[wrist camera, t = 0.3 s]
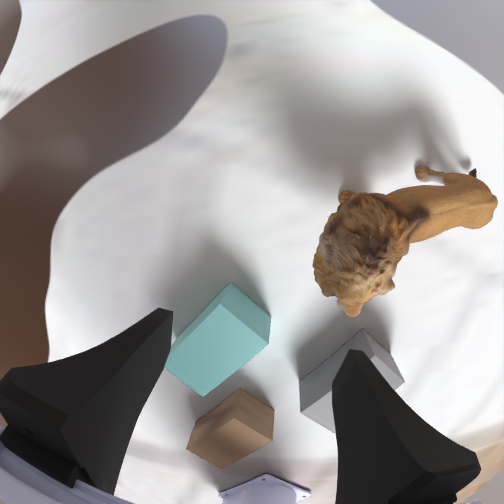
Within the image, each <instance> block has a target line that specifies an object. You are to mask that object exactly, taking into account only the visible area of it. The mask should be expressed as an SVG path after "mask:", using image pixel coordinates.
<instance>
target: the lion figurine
mask: <svg viewBox="0 0 504 504" xmlns="http://www.w3.org/2000/svg"><path fill="white" fill-rule="evenodd" d="M476 172H477V171H476V168H475V169H473V170H472V171H470V172H469V175H466V174H459V173H444V172H438V171H434V170H432V169H430V168H427V167H425V166H419V167H418V168H417V169H416V176H417V179H418V180H419V181H421V182H430V181H435V182H440V183H442V184H444V185H445V186H433V185H421V186H414V187H407V188H402V189H399V190H396V191H393V192H391V193H389V194H387V195H384V194H380V193H369V194H368V193H357V194H356V193H354V192H351V191H344V192H342V194H341V195H340V197H339V203H340V205H339V207H338V209H337V212H336V213H332V214H331V215H330V216H329V218H328V222H327V223H326V225H325V227H324V232H323V233H322V234H321V235H320V238H319V241H320V243H319V246H318V247H317V251H316V252H317V253H316V254H315V255H314V260H313V268H314V269H315V270H314V275H315V281H316V282H317V283H318V284H319V286H320V288H321V289H322V293H323V295H325V296H326V297H329V296H336V297H337V298H338V300H337V303H338V306H339V307H340V309H341V310H342V311H344V313H345V314H346V315H347V316H351V317H355V316H357V315H358V314H360V312H361V308H362V306H363V304H364V303H366V302H368V301H369V300H371V299H372V298H373V297H375V296H376V295H377V294H379V295H385V294H386V293H388V291H391V290H392V289H394V288H395V284H394V282H393V281H392V277H393V276H394V274H395V270H396V267H397V263H398V262H399V261H400V260H401V258H402V256H405V255H407V253H408V250H409V244H410V243H415V242H419V241H423V240H426V239H429V238H431V237H434V236H436V235H438V234H440V233H442V232H444V231H446V230H449V229H451V228H454V227H458V226H463V227H466V228H470V229H478V228H481V227H483V226H485V225H486V224H488V223H489V222H490V221H491V220H492V218H493V212H494V210H495V208H496V207H497V204H498V201H497V198H496V196H495V195H493V194H492V193H491V191H490V189H489V188H488V186H487V185H486V184H485V183H483V182H482V181H480V180H479V179H477V178H476Z"/></svg>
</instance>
